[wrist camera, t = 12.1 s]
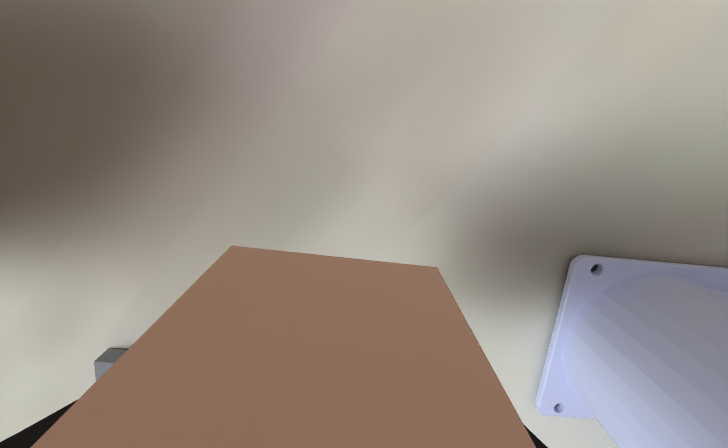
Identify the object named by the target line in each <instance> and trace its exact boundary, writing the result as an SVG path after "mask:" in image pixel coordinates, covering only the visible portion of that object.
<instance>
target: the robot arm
mask: <svg viewBox="0 0 728 448" xmlns="http://www.w3.org/2000/svg"><path fill="white" fill-rule="evenodd" d="M595 264H598V267H597V269H596V270H595V271H593V272H591V268H592V267H593V266H594V265H595ZM76 401H77V400H76ZM76 401H74V402H73V403H71V404H69V405H67V406H65V407H64V408H62V409H60V410H58V411H57V412H55V413H53V414H51V415H49V416H48V417H46V418H44V419H42V420H40V421H39V422H37V423H35V424H33V425H31V426H30V427H28V428H26V429H24V430H22V431H21V432H19V433H17V434H15V435H13V436H11V437H9V438H7V439H5V440H4V441H2V442H0V448H31V447H32V446H33V445H34V444H35V443H36V442H37V441H38V440H39V439H40V438H41V437H42V436H43V435H44V434H45V433H46V432H47V431H48V430H49V429H50V428H51V427H52V426H53V425H54V424H55V423H56V422H57V421H58V420H59V419H60V418H61V417H62V416H63V415H64V413H65V412H66V411H67V410H68V409H69V408H70V407H71V406H72V405H73V404H74V403H75V402H76ZM559 403H560V404H559ZM556 404H559V405H558V406H556V407H554V406H555V405H556ZM535 406H536V408H537V409H538V411H539V412H540V413H541V414H542V415H546V416H561V417H575V418H589V419H596V421H597V422H598V423H599V424H600V426H601V427H602V428H603V429H604V431H605V432H606V433H607V434H608V436H609V437H610V438H611V439H612V441H613V442H614V443H615V444H616V446H617V447H618V448H728V268H725V267H714V266H702V265H691V264H680V263H669V262H658V261H647V260H635V259H624V258H613V257H602V256H591V255H579V256H577V257H575V258H574V259H573V260H572V261H571V263H570V266H569V270H568V274H567V278H566V282H565V286H564V290H563V294H562V298H561V302H560V306H559V309H558V313H557V317H556V321H555V325H554V329H553V333H552V337H551V341H550V345H549V349H548V353H547V357H546V361H545V365H544V369H543V373H542V377H541V381H540V384H539V388H538V392H537V396H536V400H535ZM523 425H524V424H523ZM524 426H525V425H524ZM525 428H526V430H527V432H528V434H529V436H530V437H531V439H532V441H533V443H534V445H535V446H536V448H548V447H547V446H545V445H544V444H543V443H542V442H541V441H540V440H539V439H538V438H537V437H536V436H535V435H534V434H533V433H532V432H531V431H530V430H529V429H528V428H527V427H526V426H525Z"/></svg>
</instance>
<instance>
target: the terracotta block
mask: <svg viewBox="0 0 728 448" xmlns="http://www.w3.org/2000/svg"><path fill="white" fill-rule="evenodd" d="M31 448H536V446H535V445H534V443H533V441H532V439H531V437H530V436H529V434H528V432H527V430H526V428H525V426H524V425H523V423H522V421H521V419H520V417H519V416H518V414H517V412H516V410H515V408H514V406H513V405H512V403H511V401H510V399H509V397H508V396H507V394H506V392H505V390H504V388H503V386H502V385H501V383H500V381H499V379H498V377H497V376H496V374H495V372H494V370H493V368H492V366H491V365H490V363H489V361H488V359H487V357H486V356H485V354H484V352H483V350H482V348H481V346H480V345H479V343H478V341H477V339H476V337H475V336H474V334H473V332H472V330H471V328H470V326H469V325H468V323H467V321H466V319H465V317H464V316H463V314H462V312H461V310H460V308H459V306H458V305H457V303H456V301H455V299H454V297H453V296H452V294H451V292H450V290H449V288H448V286H447V285H446V283H445V281H444V279H443V277H442V276H441V274H440V272H439V270H438V268H437V267H428V266H418V265H409V264H399V263H390V262H381V261H371V260H362V259H352V258H343V257H333V256H324V255H315V254H305V253H296V252H286V251H277V250H267V249H258V248H248V247H239V246H231V247H230V248H229V249H228V250H227V251H226V252H225V253H224V254H223V255H222V256H221V257H220V258H219V259H218V260H217V261H216V262H215V263H214V264H213V265H212V266H211V267H210V268H209V269H208V270H207V271H206V272H205V273H204V274H203V275H202V276H201V277H200V278H199V279H198V280H197V281H196V282H195V283H194V284H193V285H192V286H191V287H190V288H189V289H188V290H187V291H186V292H185V293H184V294H183V295H182V296H181V297H180V298H179V299H178V300H177V301H176V302H175V303H174V304H173V305H172V306H171V307H170V308H169V309H168V310H167V311H166V312H165V313H164V314H163V315H162V316H161V317H160V318H159V319H158V320H157V321H156V322H155V323H154V324H153V325H152V326H151V327H150V328H149V329H148V330H147V331H146V332H145V333H144V334H143V335H142V336H141V337H140V338H139V339H138V340H137V341H136V342H135V343H134V344H133V345H132V346H131V347H130V348H129V349H128V350H127V351H126V352H125V353H124V354H123V355H122V356H121V357H120V358H119V359H118V360H117V361H116V362H115V363H114V364H113V365H112V366H111V367H110V368H109V369H108V370H107V371H106V372H105V373H104V374H103V375H102V376H101V377H100V378H99V379H98V380H97V381H96V382H95V383H94V384H93V385H92V386H91V387H90V388H89V389H88V390H87V391H86V392H85V393H84V394H83V395H82V396H81V397H80V398H79V399H78V400H77V401H76V402H75V403H74V404H73V405H72V406H71V407H70V408H69V409H68V410H67V411H66V412H65V413H64V415H63V416H62V417H61V418H60V419H59V420H58V421H57V422H56V423H55V424H54V425H53V426H52V427H51V428H50V429H49V430H48V431H47V432H46V433H45V434H44V435H43V436H42V437H41V438H40V439H39V440H38V441H37V442H36V443H35V444H34V445H33V446H32V447H31Z"/></svg>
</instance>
